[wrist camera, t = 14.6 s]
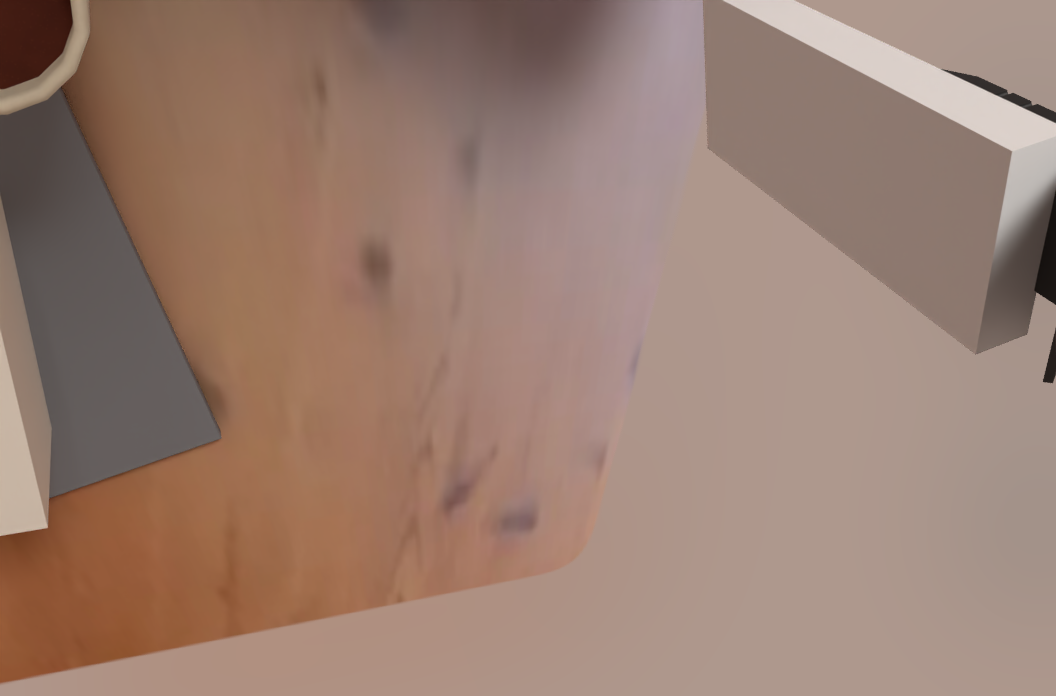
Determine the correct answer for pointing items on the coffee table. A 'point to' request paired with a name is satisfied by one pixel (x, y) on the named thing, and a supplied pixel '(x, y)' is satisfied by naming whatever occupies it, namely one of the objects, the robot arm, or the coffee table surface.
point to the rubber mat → (91, 309)
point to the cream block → (20, 409)
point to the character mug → (39, 48)
